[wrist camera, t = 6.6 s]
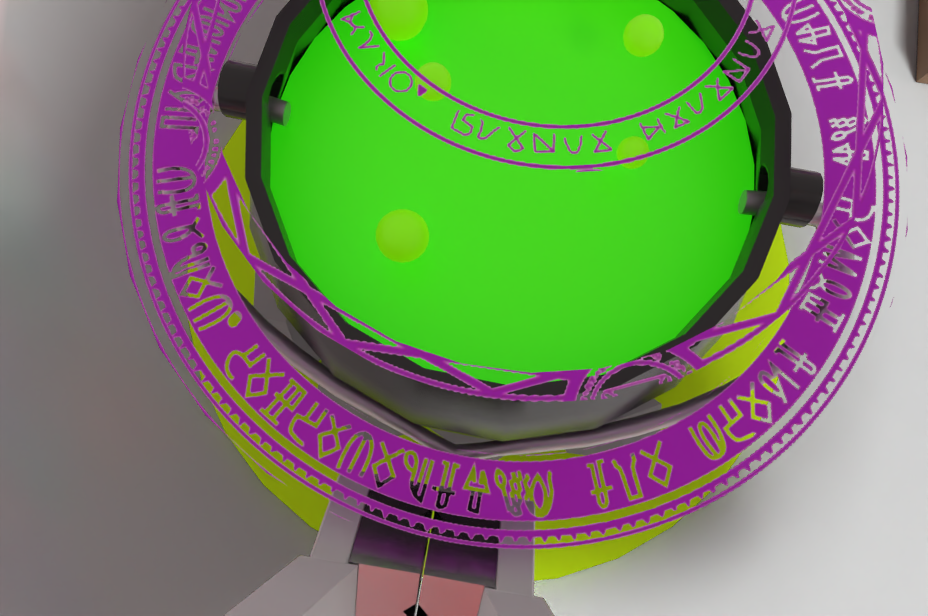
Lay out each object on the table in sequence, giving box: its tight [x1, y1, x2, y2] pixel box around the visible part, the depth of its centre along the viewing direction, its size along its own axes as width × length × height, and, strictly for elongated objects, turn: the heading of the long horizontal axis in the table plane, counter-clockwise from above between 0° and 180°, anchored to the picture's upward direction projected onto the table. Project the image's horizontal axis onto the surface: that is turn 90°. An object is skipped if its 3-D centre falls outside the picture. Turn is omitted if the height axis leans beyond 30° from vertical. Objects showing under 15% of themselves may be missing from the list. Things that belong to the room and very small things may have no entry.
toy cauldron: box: [117, 0, 908, 581], centre depth 11 cm, size 15×15×11 cm
